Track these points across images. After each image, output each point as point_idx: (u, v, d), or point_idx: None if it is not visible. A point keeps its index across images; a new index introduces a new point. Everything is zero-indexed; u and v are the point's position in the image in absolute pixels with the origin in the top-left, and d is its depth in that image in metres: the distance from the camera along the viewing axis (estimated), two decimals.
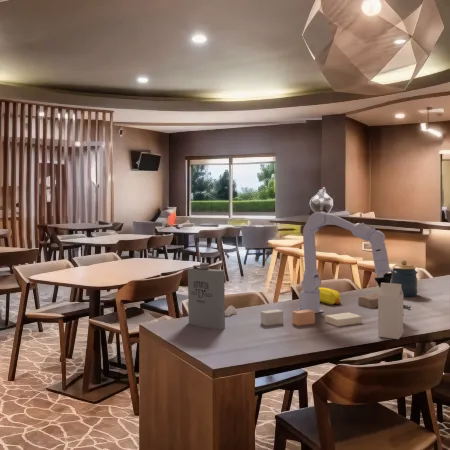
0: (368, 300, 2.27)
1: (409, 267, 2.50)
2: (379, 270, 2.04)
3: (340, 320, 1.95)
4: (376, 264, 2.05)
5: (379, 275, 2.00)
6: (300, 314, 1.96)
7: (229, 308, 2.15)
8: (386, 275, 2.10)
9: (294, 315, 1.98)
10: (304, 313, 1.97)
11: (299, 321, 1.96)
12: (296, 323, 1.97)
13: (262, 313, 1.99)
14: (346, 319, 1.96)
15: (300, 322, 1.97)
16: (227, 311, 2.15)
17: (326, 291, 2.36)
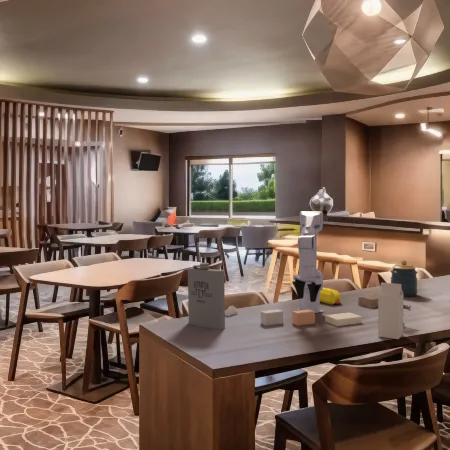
0: (368, 300, 2.27)
1: (409, 267, 2.50)
2: None
3: (339, 320, 1.95)
4: None
5: None
6: (300, 314, 1.96)
7: (230, 308, 2.15)
8: None
9: (294, 315, 1.98)
10: (304, 313, 1.97)
11: (299, 321, 1.96)
12: (296, 323, 1.97)
13: (262, 313, 1.99)
14: (346, 319, 1.96)
15: (300, 322, 1.97)
16: (228, 311, 2.14)
17: (326, 291, 2.36)
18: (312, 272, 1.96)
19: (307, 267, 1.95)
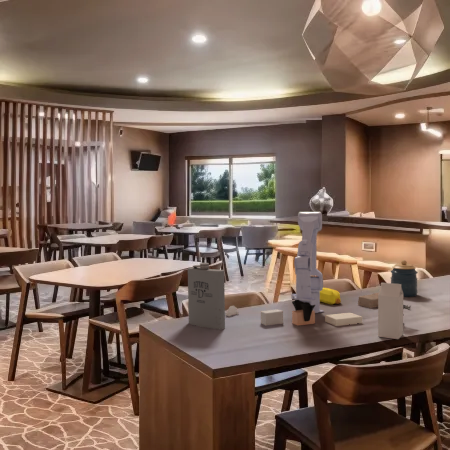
0: (369, 300, 2.27)
1: (409, 267, 2.50)
2: None
3: (339, 320, 1.95)
4: None
5: None
6: (300, 314, 1.96)
7: (230, 308, 2.15)
8: None
9: (294, 315, 1.98)
10: None
11: (299, 321, 1.96)
12: (296, 323, 1.97)
13: (262, 313, 1.99)
14: (345, 319, 1.96)
15: (300, 322, 1.97)
16: (228, 311, 2.14)
17: (326, 291, 2.36)
18: (308, 292, 1.97)
19: (303, 287, 1.96)
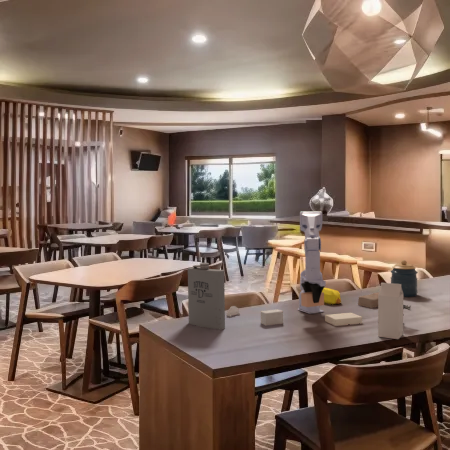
0: (369, 300, 2.27)
1: (409, 267, 2.50)
2: None
3: (338, 320, 1.95)
4: None
5: None
6: (309, 295, 1.96)
7: (231, 308, 2.14)
8: None
9: (303, 296, 1.98)
10: None
11: (308, 302, 1.96)
12: (305, 304, 1.97)
13: (262, 313, 1.99)
14: (345, 319, 1.96)
15: (309, 303, 1.96)
16: (229, 311, 2.14)
17: (327, 291, 2.36)
18: (318, 274, 1.97)
19: (312, 269, 1.96)
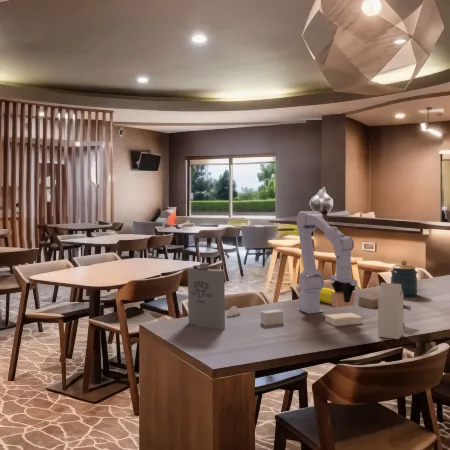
0: (369, 300, 2.27)
1: (409, 267, 2.50)
2: None
3: (338, 320, 1.95)
4: None
5: None
6: (340, 295, 1.97)
7: (232, 308, 2.14)
8: None
9: (334, 296, 1.98)
10: None
11: (339, 302, 1.97)
12: (336, 304, 1.97)
13: (262, 313, 1.99)
14: (344, 319, 1.96)
15: (340, 303, 1.97)
16: (230, 311, 2.14)
17: (327, 291, 2.36)
18: (349, 273, 1.97)
19: (344, 268, 1.97)
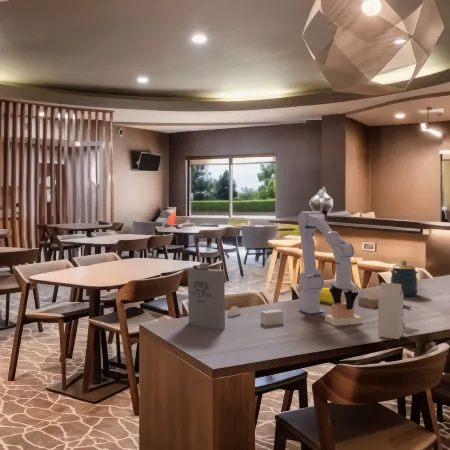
0: (370, 300, 2.26)
1: (409, 267, 2.50)
2: None
3: (337, 320, 1.95)
4: None
5: None
6: (340, 306, 1.97)
7: (232, 309, 2.14)
8: None
9: (334, 307, 1.99)
10: (344, 305, 1.98)
11: (339, 313, 1.97)
12: (336, 315, 1.98)
13: (262, 313, 1.99)
14: (344, 319, 1.96)
15: (340, 314, 1.97)
16: (230, 312, 2.13)
17: (327, 291, 2.36)
18: (349, 280, 1.97)
19: (344, 275, 1.97)
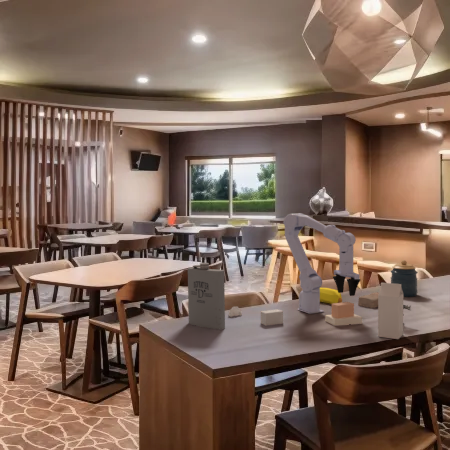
0: (370, 300, 2.26)
1: (409, 267, 2.50)
2: None
3: (337, 320, 1.95)
4: None
5: None
6: (340, 306, 1.97)
7: (233, 309, 2.13)
8: None
9: (334, 307, 1.99)
10: (344, 305, 1.98)
11: (339, 313, 1.97)
12: (336, 315, 1.98)
13: (262, 313, 1.99)
14: (344, 319, 1.96)
15: (340, 314, 1.97)
16: (231, 312, 2.13)
17: (328, 291, 2.37)
18: (351, 268, 2.07)
19: (347, 263, 2.07)
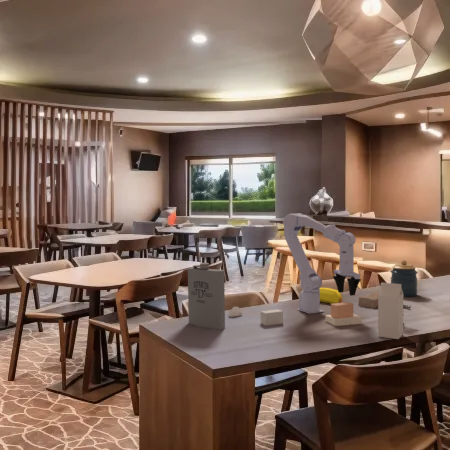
0: (370, 300, 2.26)
1: (409, 267, 2.50)
2: None
3: (338, 320, 1.95)
4: None
5: None
6: (339, 306, 1.97)
7: (234, 309, 2.13)
8: None
9: (333, 307, 1.99)
10: (343, 305, 1.98)
11: (338, 313, 1.97)
12: (335, 315, 1.97)
13: (262, 313, 1.99)
14: (344, 319, 1.96)
15: (340, 314, 1.97)
16: (231, 312, 2.13)
17: (328, 291, 2.37)
18: (352, 267, 2.08)
19: (347, 263, 2.07)
